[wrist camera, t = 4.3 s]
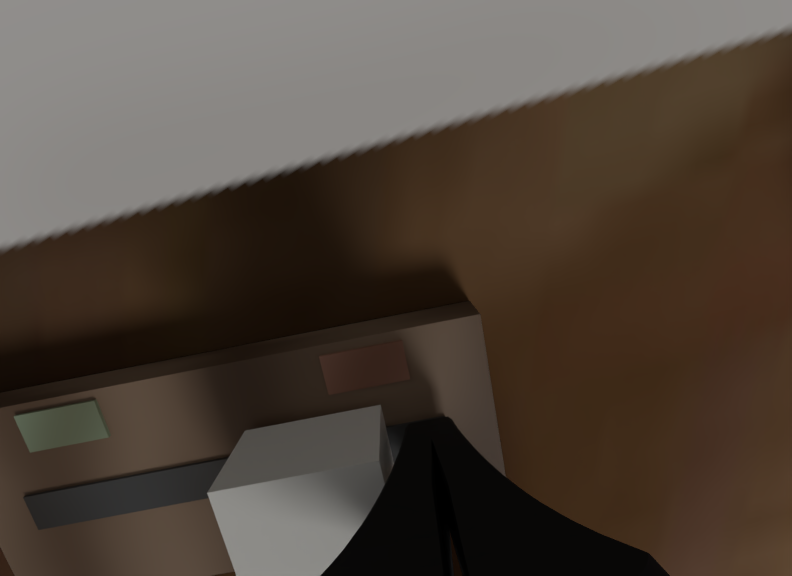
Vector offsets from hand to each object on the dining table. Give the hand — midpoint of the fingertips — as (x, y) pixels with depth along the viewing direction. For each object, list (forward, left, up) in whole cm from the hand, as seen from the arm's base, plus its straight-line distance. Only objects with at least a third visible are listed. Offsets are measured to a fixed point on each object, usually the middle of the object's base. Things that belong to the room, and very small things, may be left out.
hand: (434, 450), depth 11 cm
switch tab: (-3, 0, 0) cm, 3 cm away
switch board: (-6, 0, -2) cm, 6 cm away
